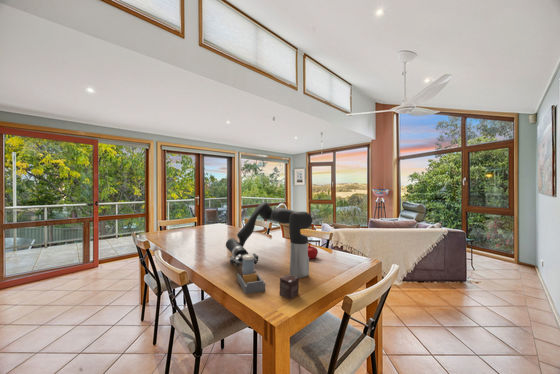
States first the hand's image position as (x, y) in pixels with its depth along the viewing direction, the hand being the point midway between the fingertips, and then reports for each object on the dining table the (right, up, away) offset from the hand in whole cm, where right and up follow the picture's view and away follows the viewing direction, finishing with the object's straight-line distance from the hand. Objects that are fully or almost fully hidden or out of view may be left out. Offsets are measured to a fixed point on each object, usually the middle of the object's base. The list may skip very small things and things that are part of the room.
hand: (247, 263), depth 110 cm
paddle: (+2, -8, -3) cm, 9 cm away
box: (+20, -9, -13) cm, 26 cm away
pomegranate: (+36, -9, +37) cm, 52 cm away
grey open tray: (+2, -9, -4) cm, 10 cm away
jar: (0, -8, -1) cm, 8 cm away
